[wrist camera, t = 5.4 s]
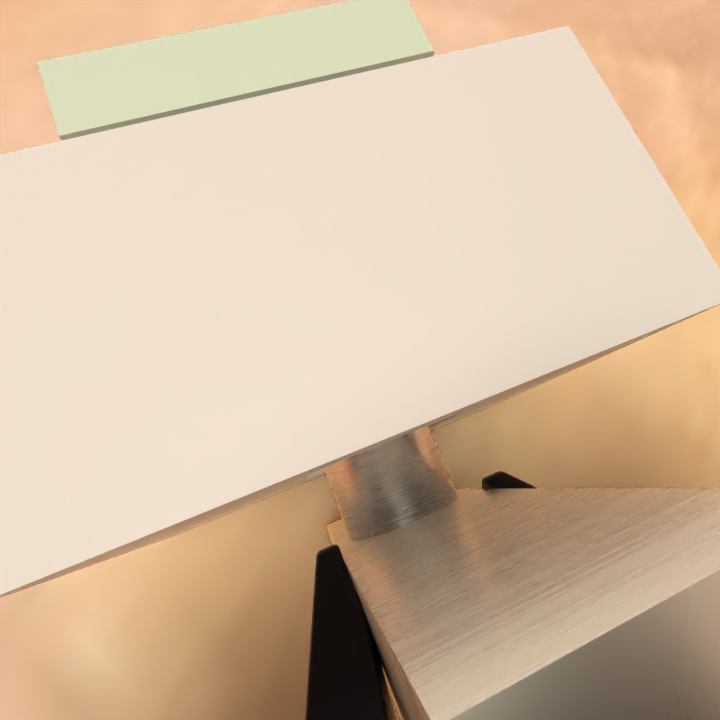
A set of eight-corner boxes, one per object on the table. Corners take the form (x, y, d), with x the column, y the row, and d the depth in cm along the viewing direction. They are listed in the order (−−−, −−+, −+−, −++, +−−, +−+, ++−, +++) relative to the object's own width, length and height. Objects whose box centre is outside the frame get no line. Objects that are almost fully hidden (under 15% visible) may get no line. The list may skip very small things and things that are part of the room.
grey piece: (447, 579, 15) (1241, 1085, 2) (360, 621, 14) (785, 1644, 2) (286, 188, 18) (242, -508, 5) (209, 209, 17) (-41, -522, 5)
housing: (502, 401, 17) (737, 296, 8) (173, 535, 14) (-57, 617, 5) (435, 260, 18) (568, 25, 9) (122, 362, 16) (-135, 184, 7)
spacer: (380, 236, 16) (434, 50, 9) (174, 300, 14) (58, 136, 8) (362, 198, 16) (402, -10, 9) (159, 256, 15) (36, 61, 8)
